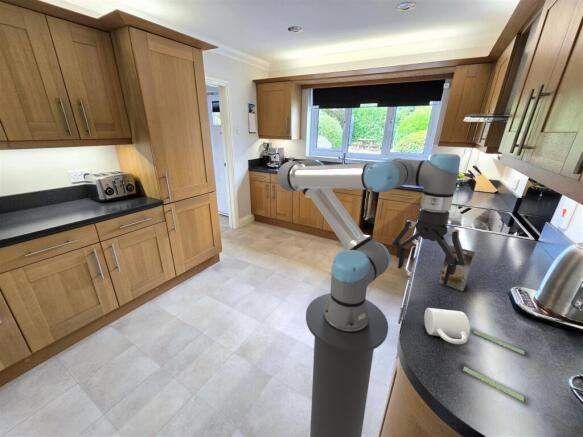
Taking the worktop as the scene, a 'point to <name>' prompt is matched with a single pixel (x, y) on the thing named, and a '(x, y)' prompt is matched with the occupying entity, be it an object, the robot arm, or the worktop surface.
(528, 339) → the worktop surface
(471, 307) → the worktop surface
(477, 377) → the strips
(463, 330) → the mug
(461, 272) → the coffee box
